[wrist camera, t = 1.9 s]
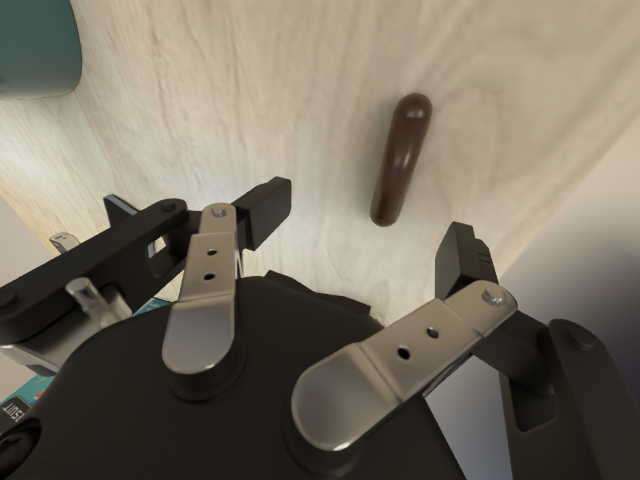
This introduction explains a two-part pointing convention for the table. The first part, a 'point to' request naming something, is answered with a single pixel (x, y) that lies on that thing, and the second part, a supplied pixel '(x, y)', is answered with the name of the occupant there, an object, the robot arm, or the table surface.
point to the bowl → (38, 49)
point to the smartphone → (121, 216)
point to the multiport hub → (64, 242)
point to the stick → (400, 157)
